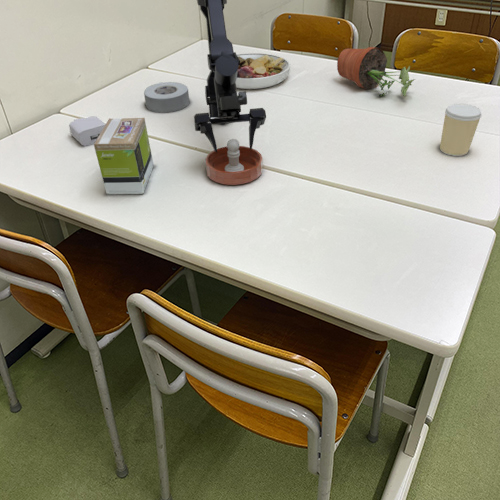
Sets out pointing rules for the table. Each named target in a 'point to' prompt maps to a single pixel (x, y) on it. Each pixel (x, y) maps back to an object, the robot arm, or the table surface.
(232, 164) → the chess piece
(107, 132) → the tea box
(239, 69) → the bowl
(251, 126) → the robot arm
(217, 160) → the bowl
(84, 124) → the charger
